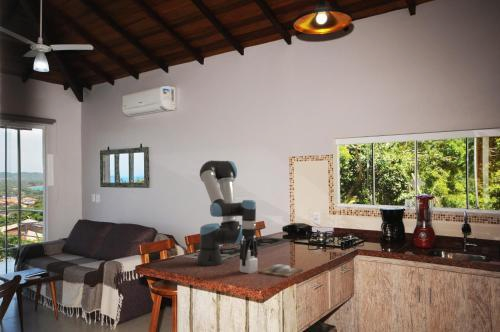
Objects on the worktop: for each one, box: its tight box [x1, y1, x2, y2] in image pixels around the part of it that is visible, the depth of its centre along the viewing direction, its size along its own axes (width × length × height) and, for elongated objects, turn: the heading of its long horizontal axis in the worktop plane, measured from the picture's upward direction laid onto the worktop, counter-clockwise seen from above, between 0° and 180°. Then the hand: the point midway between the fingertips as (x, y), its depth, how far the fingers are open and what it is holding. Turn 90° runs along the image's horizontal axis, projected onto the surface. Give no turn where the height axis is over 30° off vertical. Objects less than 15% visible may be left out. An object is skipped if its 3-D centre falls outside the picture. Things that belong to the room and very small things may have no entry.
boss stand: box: [257, 263, 304, 279], centre depth 200 cm, size 18×18×3 cm
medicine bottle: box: [239, 248, 259, 275], centre depth 201 cm, size 7×7×12 cm
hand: (248, 270), depth 200 cm, fingers closed on medicine bottle, 8 cm apart
